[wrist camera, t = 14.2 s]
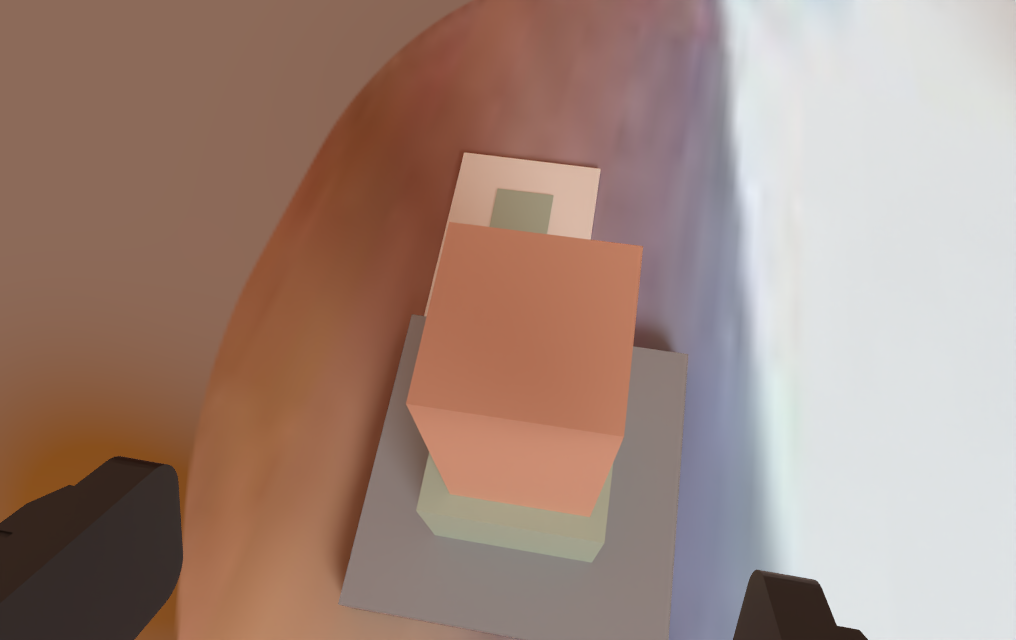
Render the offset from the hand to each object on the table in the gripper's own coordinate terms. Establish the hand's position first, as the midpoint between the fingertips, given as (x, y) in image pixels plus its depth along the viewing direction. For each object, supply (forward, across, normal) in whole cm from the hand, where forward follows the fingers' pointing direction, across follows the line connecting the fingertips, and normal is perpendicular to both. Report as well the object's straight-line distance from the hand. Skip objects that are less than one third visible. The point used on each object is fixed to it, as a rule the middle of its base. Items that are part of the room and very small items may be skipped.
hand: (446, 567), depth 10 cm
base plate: (+18, 0, +10) cm, 20 cm away
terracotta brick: (+13, 0, +5) cm, 14 cm away
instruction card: (+25, +2, +2) cm, 25 cm away
